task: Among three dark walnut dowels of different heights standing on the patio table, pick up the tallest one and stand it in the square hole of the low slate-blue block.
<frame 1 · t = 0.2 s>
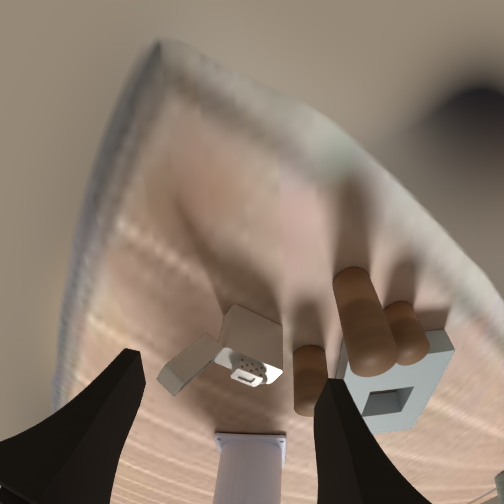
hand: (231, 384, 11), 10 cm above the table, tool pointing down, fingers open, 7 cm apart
socket block: (381, 381, 25), on the table
tall dowel: (351, 283, 21), on the table
lighter: (235, 312, 23), on the table
medium dowel: (309, 356, 24), on the table
short dowel: (397, 314, 22), on the table
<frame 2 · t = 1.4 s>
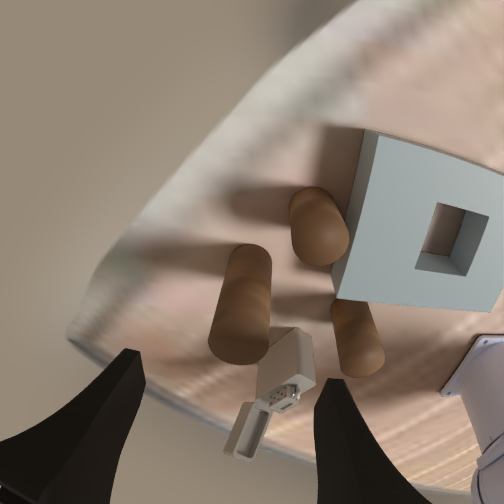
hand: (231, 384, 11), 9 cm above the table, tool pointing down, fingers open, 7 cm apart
socket block: (436, 224, 17), on the table
tall dowel: (250, 263, 19), on the table
lighter: (271, 355, 23), on the table
medium dowel: (349, 308, 21), on the table
short dowel: (312, 208, 17), on the table
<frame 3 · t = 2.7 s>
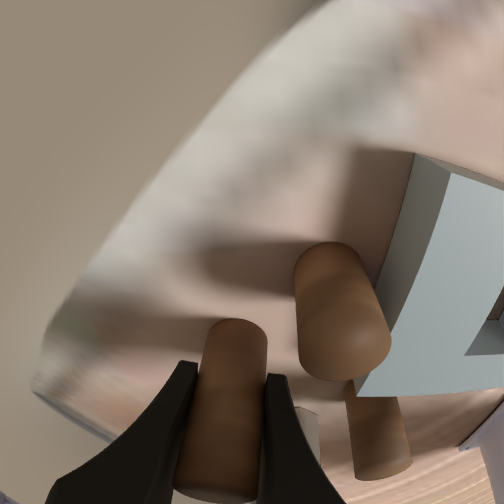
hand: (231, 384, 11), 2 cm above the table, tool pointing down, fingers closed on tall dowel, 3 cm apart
socket block: (490, 284, 11), on the table
tall dowel: (237, 341, 13), on the table, touching gripper
lighter: (267, 430, 17), on the table
medium dowel: (368, 386, 15), on the table
short dowel: (328, 273, 12), on the table
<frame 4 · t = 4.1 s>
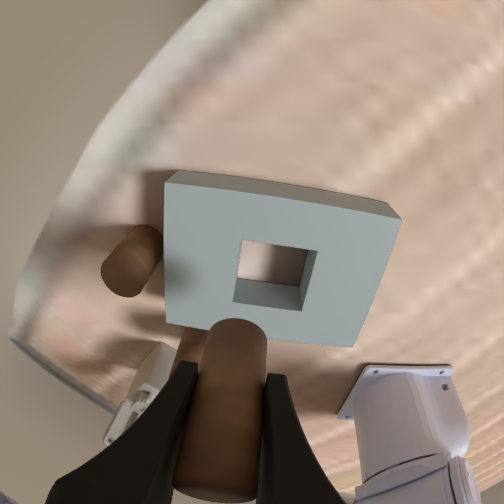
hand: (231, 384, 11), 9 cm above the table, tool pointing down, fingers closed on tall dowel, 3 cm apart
socket block: (273, 255, 19), on the table
tall dowel: (237, 340, 13), point 7 cm above the table, touching gripper
lighter: (151, 364, 25), on the table
medium dowel: (203, 329, 23), on the table
short dowel: (146, 243, 19), on the table
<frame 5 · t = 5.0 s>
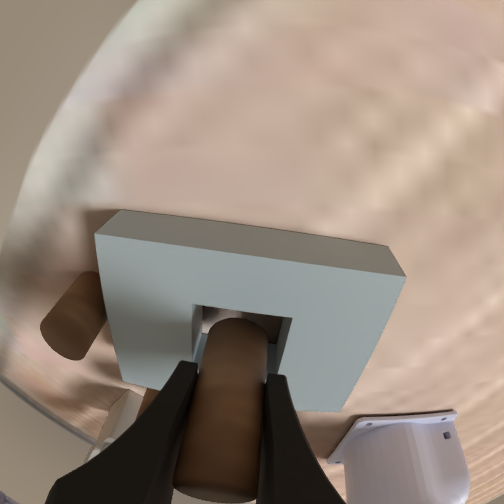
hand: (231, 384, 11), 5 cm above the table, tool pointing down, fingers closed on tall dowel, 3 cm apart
socket block: (242, 310, 15), on the table
tall dowel: (237, 340, 13), point 2 cm above the table, touching gripper
lighter: (123, 407, 22), on the table
short dowel: (96, 291, 16), on the table
when the fingers open (3 cm above the table, at t = 5.5 s): tall dowel stays where it is, resting in socket block.
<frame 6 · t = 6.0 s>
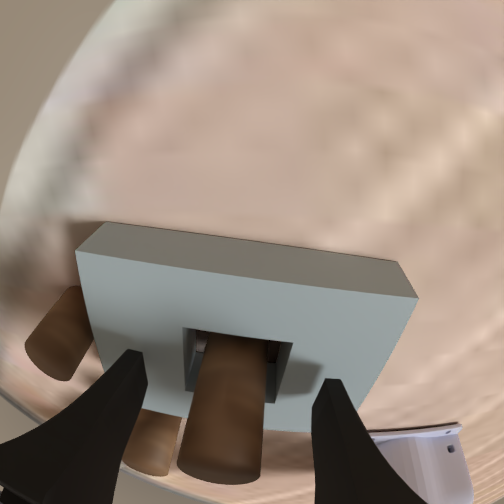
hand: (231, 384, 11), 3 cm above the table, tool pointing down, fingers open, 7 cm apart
socket block: (239, 329, 14), on the table
tall dowel: (239, 328, 14), resting in socket block
medium dowel: (165, 398, 18), on the table
short dowel: (84, 307, 14), on the table
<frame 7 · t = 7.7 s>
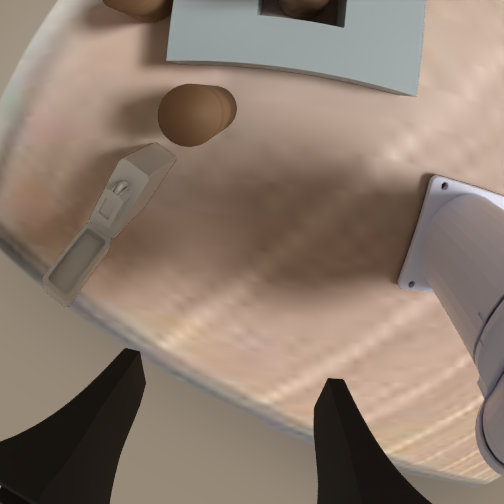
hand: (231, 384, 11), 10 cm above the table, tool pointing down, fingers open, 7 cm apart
lighter: (137, 194, 19), on the table
medium dowel: (212, 108, 16), on the table
short dowel: (155, 2, 13), on the table
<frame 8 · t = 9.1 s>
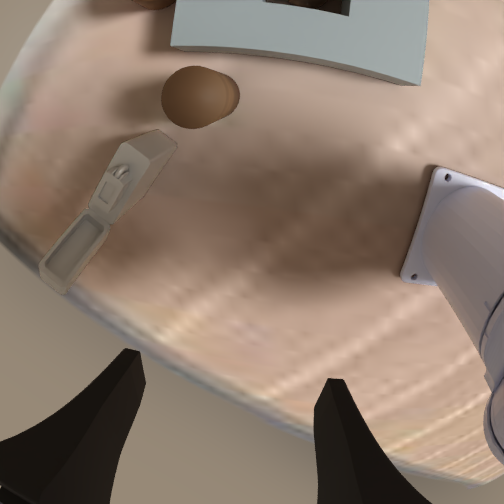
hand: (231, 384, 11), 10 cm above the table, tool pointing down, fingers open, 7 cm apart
lighter: (137, 182, 18), on the table
medium dowel: (215, 95, 16), on the table
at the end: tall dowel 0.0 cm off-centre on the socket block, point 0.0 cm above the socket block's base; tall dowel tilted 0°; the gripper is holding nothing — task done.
